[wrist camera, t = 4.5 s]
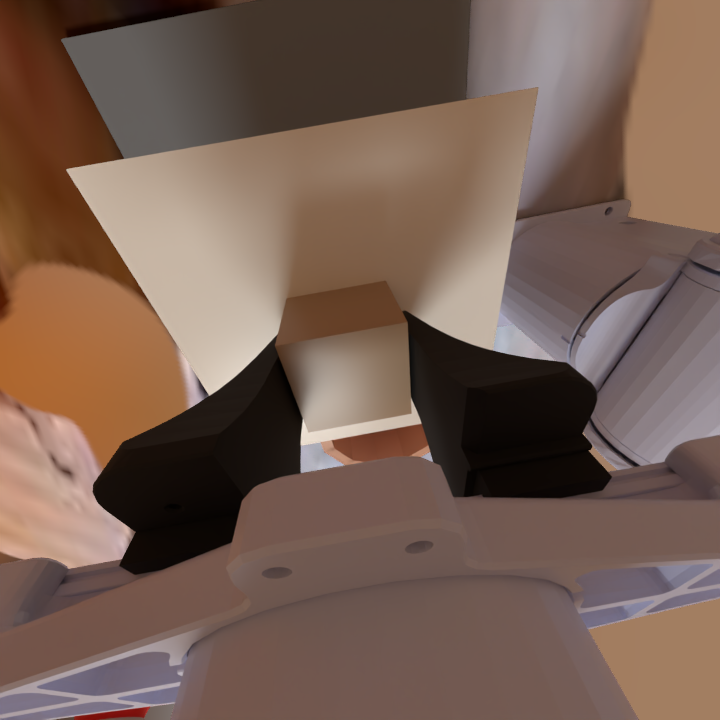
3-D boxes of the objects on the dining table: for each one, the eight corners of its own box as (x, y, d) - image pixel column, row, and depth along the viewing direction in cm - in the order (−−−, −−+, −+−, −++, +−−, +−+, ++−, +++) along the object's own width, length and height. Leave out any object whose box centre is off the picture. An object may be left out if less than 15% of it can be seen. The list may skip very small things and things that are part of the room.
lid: (519, 93, 9) (651, 50, 5) (474, 400, 17) (515, 464, 14) (89, 168, 9) (-71, 174, 5) (251, 441, 17) (232, 517, 14)
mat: (468, -37, 12) (472, -43, 12) (453, 299, 22) (455, 301, 21) (67, 42, 12) (60, 39, 12) (225, 343, 22) (224, 346, 21)
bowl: (434, 330, 23) (455, 362, 20) (434, 419, 30) (450, 456, 26) (304, 355, 23) (300, 392, 20) (332, 439, 30) (333, 478, 26)
